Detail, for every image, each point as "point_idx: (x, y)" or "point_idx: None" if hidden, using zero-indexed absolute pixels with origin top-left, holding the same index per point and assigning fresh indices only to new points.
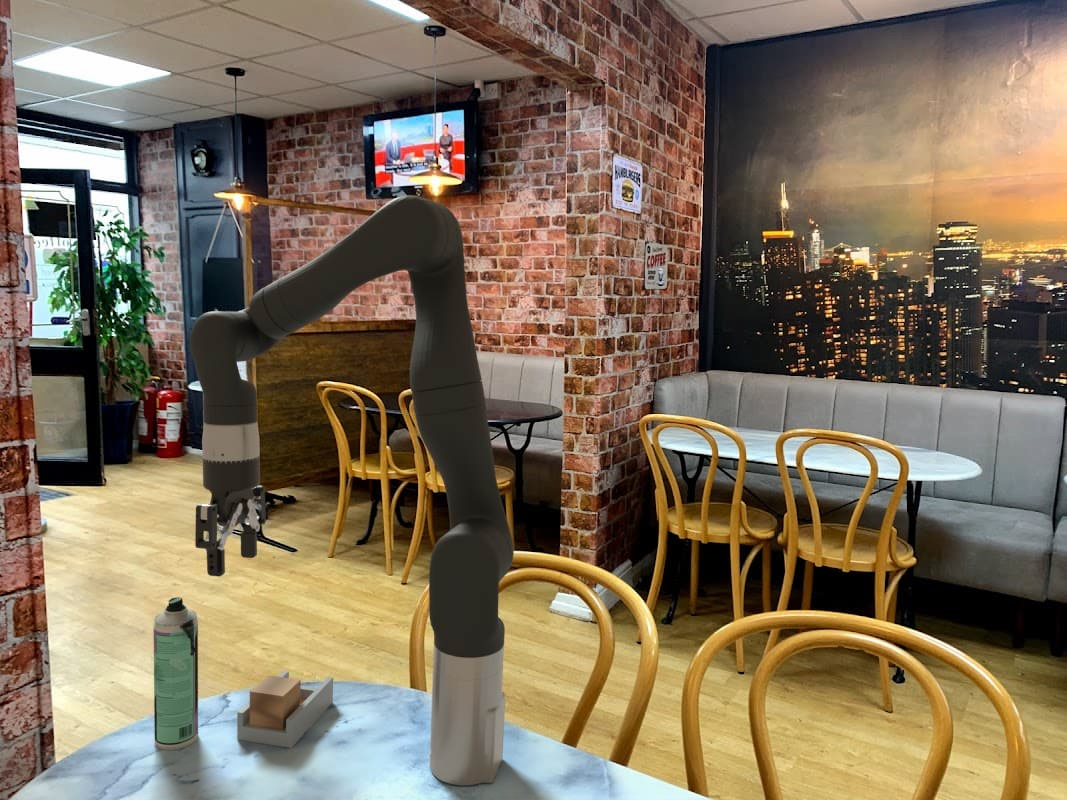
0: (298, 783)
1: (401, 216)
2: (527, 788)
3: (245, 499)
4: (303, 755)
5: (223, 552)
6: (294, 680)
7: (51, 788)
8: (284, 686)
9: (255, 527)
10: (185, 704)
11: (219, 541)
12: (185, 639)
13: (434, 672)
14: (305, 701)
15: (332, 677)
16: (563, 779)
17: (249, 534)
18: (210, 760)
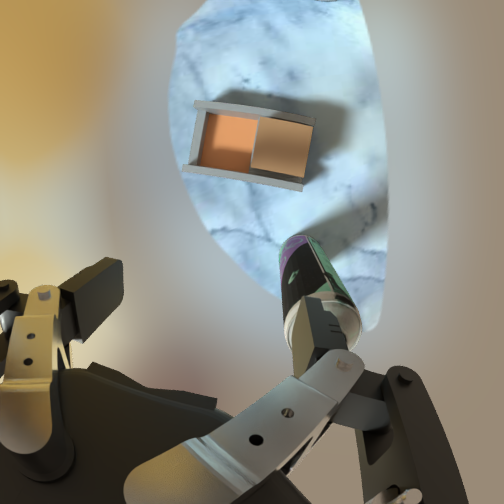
0: (370, 105)
1: None
2: None
3: (27, 466)
4: (322, 109)
5: (321, 340)
6: (263, 124)
7: (375, 321)
8: (284, 132)
9: (53, 301)
10: (324, 254)
11: (355, 383)
12: (346, 292)
13: None
14: (265, 114)
15: (194, 101)
16: None
17: (78, 310)
18: (339, 204)
